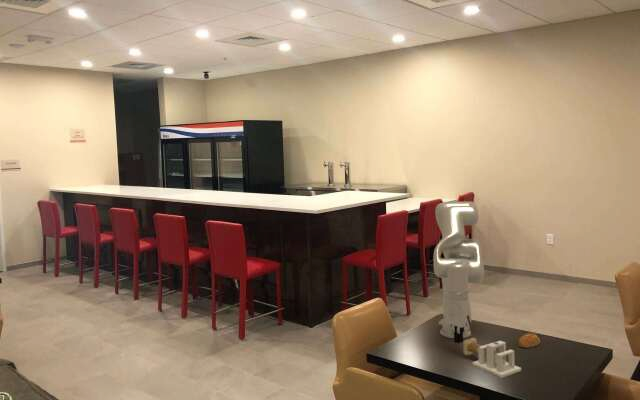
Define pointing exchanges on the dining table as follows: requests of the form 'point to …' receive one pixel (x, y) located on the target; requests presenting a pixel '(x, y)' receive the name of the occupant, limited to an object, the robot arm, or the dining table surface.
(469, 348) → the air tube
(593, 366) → the dining table surface
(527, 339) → the pastry
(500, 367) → the white slotted holder
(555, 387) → the dining table surface
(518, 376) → the dining table surface
